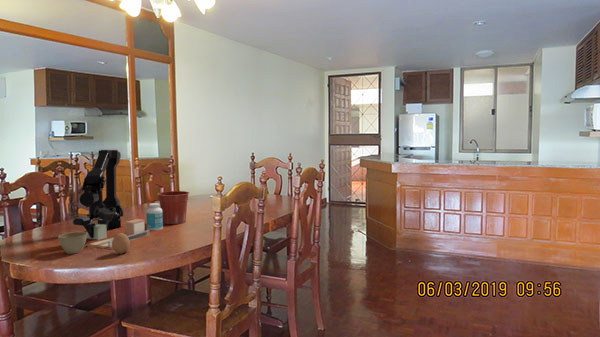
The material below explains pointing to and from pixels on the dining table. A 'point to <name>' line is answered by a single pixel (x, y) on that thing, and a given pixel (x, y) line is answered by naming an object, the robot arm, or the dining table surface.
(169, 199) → the flower pot
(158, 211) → the pill bottle
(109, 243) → the shelf
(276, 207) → the dining table surface
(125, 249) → the egg
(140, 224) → the carton
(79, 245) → the bowl
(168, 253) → the dining table surface
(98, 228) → the pale green block
